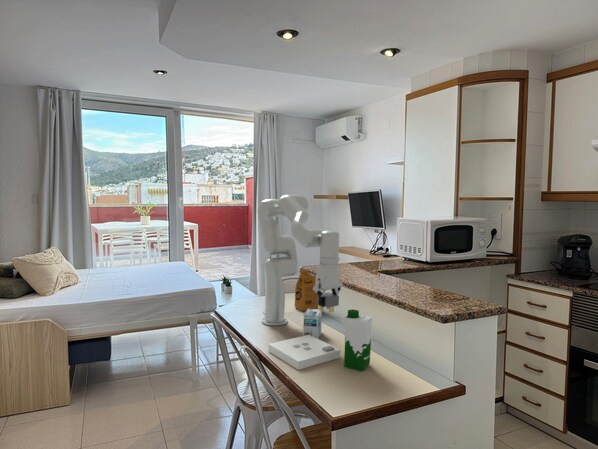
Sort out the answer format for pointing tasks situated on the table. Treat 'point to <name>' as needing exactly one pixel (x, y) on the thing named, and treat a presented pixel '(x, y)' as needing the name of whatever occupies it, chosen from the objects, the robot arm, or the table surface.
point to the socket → (304, 351)
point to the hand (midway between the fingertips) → (327, 304)
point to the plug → (329, 302)
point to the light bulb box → (312, 322)
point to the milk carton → (357, 340)
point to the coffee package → (305, 292)
